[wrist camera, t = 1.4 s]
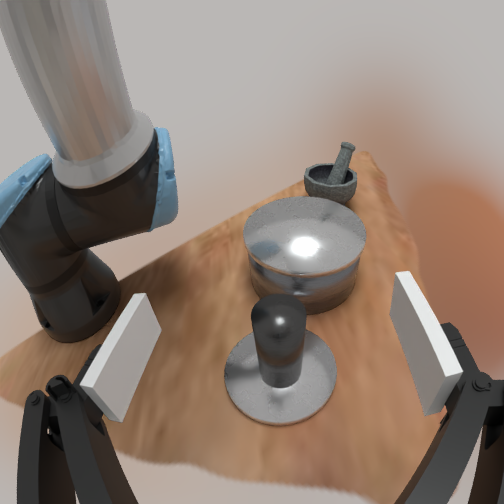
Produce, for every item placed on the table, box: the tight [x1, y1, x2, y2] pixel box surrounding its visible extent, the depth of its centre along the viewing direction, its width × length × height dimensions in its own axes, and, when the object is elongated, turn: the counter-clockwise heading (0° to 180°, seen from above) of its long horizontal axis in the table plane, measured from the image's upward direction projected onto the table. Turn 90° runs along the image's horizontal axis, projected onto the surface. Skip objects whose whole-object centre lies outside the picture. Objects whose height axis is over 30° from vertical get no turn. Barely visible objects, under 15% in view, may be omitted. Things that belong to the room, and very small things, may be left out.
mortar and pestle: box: [304, 142, 357, 206], centre depth 51 cm, size 11×9×12 cm
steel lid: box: [224, 294, 337, 426], centre depth 27 cm, size 12×12×12 cm
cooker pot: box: [243, 196, 366, 315], centre depth 40 cm, size 16×16×8 cm
